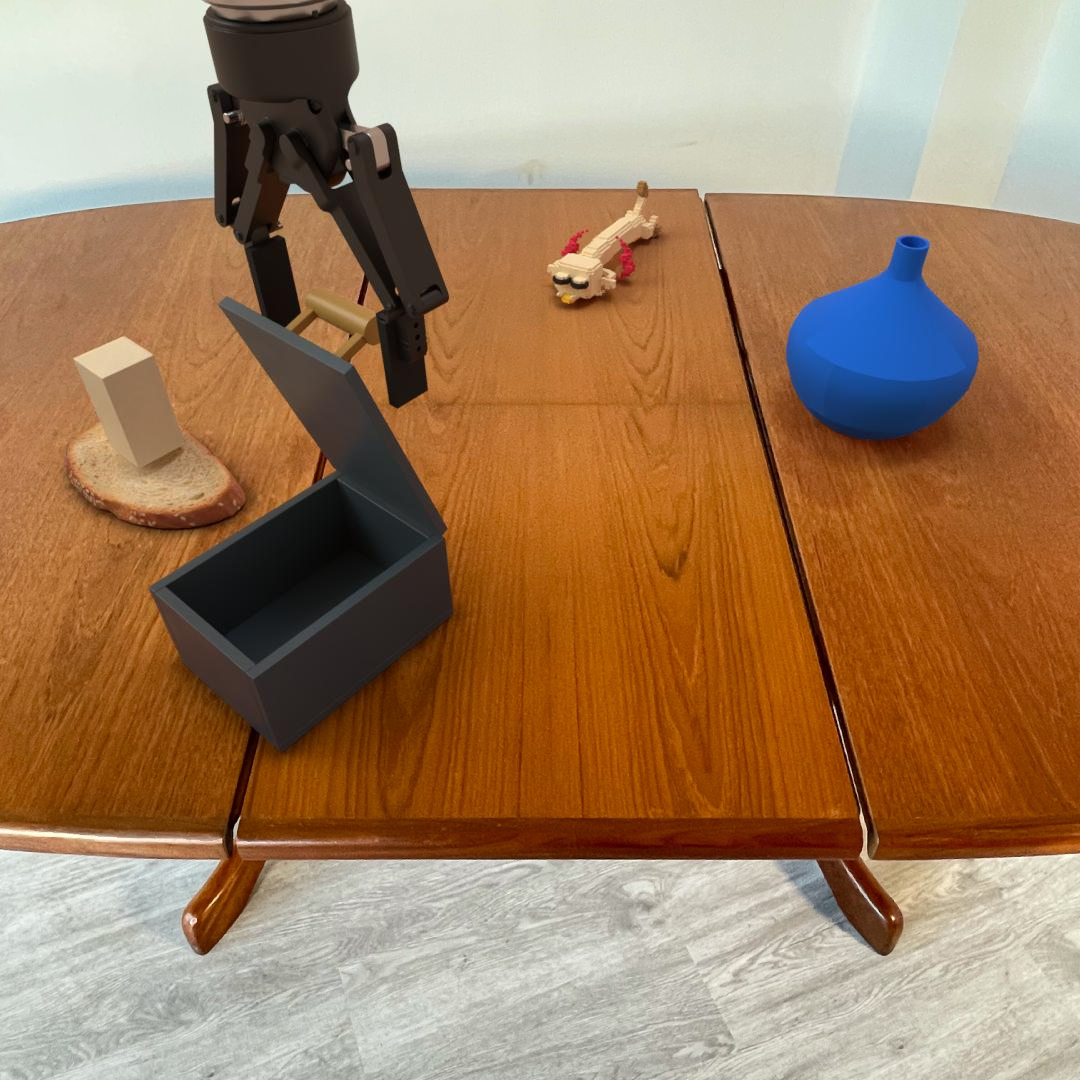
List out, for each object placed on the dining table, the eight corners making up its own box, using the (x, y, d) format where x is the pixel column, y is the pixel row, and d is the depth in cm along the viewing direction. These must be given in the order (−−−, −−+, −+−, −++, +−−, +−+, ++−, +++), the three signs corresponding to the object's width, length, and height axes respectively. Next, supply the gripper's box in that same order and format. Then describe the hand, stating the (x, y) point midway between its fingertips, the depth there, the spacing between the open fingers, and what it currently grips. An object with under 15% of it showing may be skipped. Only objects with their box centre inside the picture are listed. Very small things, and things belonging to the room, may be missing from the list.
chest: (281, 753, 64) (253, 679, 58) (182, 662, 70) (147, 586, 64) (453, 614, 74) (445, 537, 68) (353, 544, 80) (337, 468, 74)
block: (139, 468, 82) (101, 378, 75) (111, 447, 85) (72, 358, 78) (185, 444, 85) (153, 354, 78) (157, 423, 87) (123, 335, 81)
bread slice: (243, 523, 82) (233, 493, 79) (40, 544, 80) (23, 514, 77) (257, 411, 95) (249, 382, 92) (83, 427, 93) (70, 398, 90)
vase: (763, 446, 90) (801, 272, 77) (784, 354, 102) (820, 191, 89) (952, 482, 86) (1027, 305, 72) (950, 381, 98) (1013, 214, 85)
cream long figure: (609, 233, 128) (528, 295, 111) (614, 171, 123) (530, 226, 105) (673, 247, 125) (599, 314, 108) (681, 184, 119) (606, 243, 102)
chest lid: (344, 374, 52) (409, 309, 53) (217, 303, 58) (279, 247, 59) (441, 537, 67) (489, 482, 69) (333, 468, 73) (380, 419, 75)
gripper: (501, 26, 41) (513, 405, 56) (201, -45, 53) (278, 284, 68) (380, 64, 37) (428, 461, 52) (84, -22, 49) (194, 323, 64)
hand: (344, 362), depth 60 cm, fingers open, 12 cm apart
